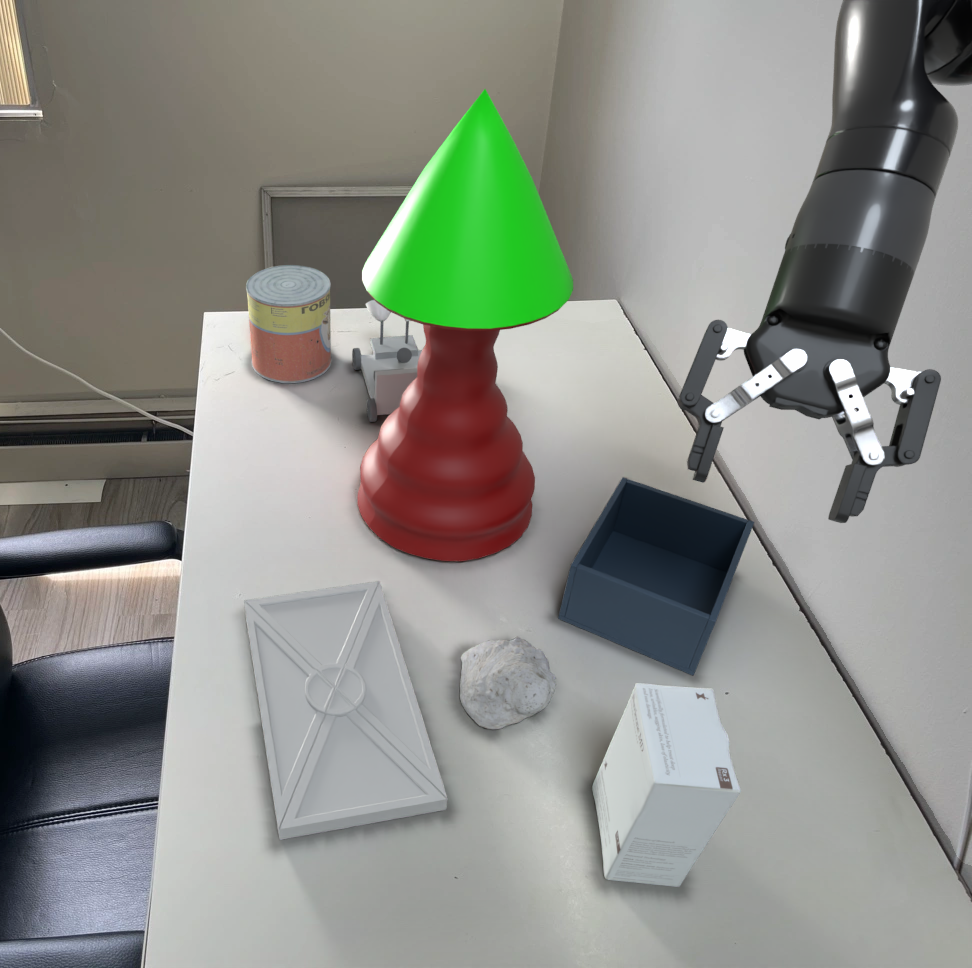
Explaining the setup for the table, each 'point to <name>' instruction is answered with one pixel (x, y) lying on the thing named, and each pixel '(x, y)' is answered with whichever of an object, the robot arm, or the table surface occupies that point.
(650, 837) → the cosmetic box
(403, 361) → the toy car
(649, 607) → the bin
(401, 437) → the table lamp
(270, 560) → the table surface
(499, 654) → the stone
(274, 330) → the canned food
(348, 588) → the white flat rectangular panel
